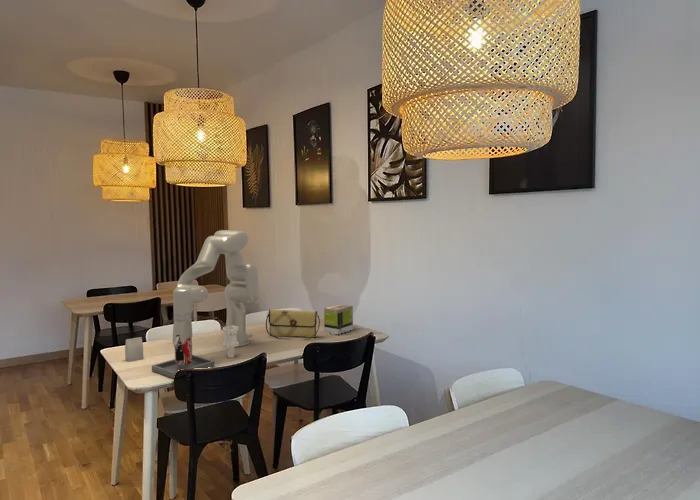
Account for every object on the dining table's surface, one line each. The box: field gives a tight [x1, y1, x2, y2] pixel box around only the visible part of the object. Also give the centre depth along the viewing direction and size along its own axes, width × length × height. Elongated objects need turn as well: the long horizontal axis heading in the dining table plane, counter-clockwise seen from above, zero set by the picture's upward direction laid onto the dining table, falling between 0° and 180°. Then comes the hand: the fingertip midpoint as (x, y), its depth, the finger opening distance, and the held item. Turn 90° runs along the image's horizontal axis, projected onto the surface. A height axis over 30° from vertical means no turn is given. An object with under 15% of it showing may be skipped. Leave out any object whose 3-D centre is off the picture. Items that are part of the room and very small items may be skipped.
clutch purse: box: [265, 309, 321, 340], centre depth 253 cm, size 30×7×15 cm, turn 83°
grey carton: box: [124, 336, 144, 363], centre depth 213 cm, size 4×7×10 cm, turn 132°
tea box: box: [323, 303, 354, 336], centre depth 268 cm, size 15×10×15 cm, turn 144°
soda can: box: [174, 337, 193, 366], centre depth 201 cm, size 7×7×12 cm
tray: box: [151, 354, 215, 380], centre depth 201 cm, size 20×16×2 cm
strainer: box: [222, 325, 239, 359], centre depth 219 cm, size 7×7×15 cm
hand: (183, 357), depth 201 cm, fingers closed on soda can, 6 cm apart
